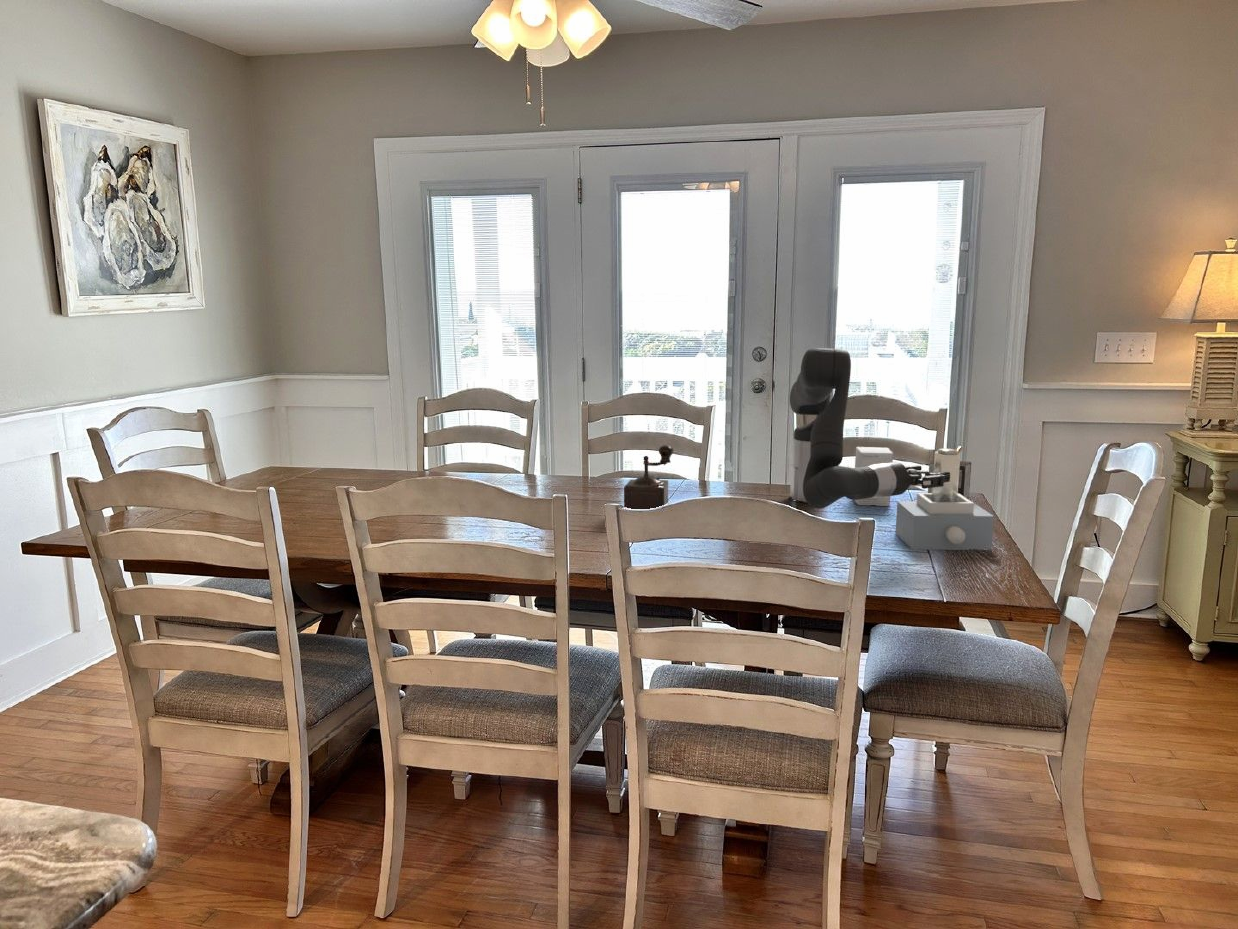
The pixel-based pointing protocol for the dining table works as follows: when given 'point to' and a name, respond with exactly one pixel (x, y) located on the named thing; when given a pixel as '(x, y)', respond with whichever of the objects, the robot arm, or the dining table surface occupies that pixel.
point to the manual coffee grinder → (648, 486)
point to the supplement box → (870, 457)
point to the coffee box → (963, 478)
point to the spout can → (950, 463)
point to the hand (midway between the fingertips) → (934, 473)
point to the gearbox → (943, 524)
